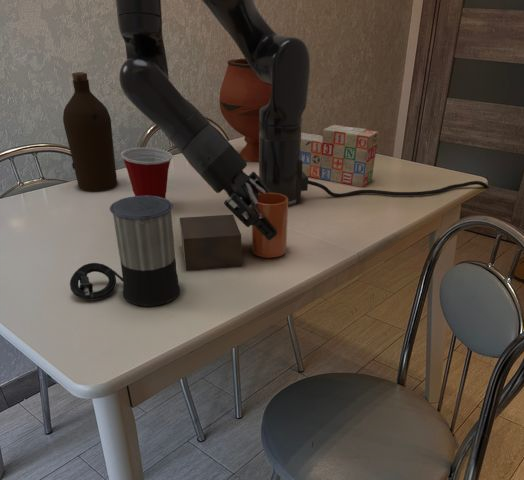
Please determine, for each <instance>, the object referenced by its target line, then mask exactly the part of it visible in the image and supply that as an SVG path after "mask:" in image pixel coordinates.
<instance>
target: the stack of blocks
mask: <svg viewBox="0 0 524 480" xmlns="http://www.w3.org/2000/svg"><path fill="white" fill-rule="evenodd" d="M378 138H379V131H377V130H368V129H367V128H362V127H351V126H344V125H337V124H332V125H330V126H328V127H326V128H323V130H322V135H320V134H313V133H308V132H307V133H306V132H301V151H300V159H301V160H302V162H303V164H302V172H304V174H305V175H306V176H307V177H310V178H315V179H320V180H326V181H331V182H336V183H340V184H345V185H350V186H356V187H359V188H363V187H365V186H367V185H368V184H369V183H371V182H372V181H373V174H374V167H375V160H376V154H377V147H378Z"/></svg>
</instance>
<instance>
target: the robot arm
mask: <svg viewBox="0 0 524 480" xmlns="http://www.w3.org/2000/svg"><path fill="white" fill-rule="evenodd" d="M201 2H202V3H203V4H204V5H205V6H206V8H207V9H208V10H209V11H210V12H211V14H212V15H213V16H214V18H215V19H216V20H217V22H219V24H220V25H221V27H222V28H223V29H224V30H225V32H227V33H228V34H229V36H230V38H231V39H232V40H233V42H234V43H235V44H236V46H237V47H238V49H239V51H240V52H241V54H242V55H243V57H244V58H245V59H246V60H247V62H248V64H249V65H250V67H251V68H252V70H253V72H254V73H255V74H256V76H257V77H258V78H259V79H260V80H261V81H263V82H264V83H266V84H269V85H272V87H271V98H270V101H269V103H268V104H266V105H264V106H262V107H261V108H260V111H259V161H258V174H257V173H256V172H255V171H252V172H251V173H250V174H247V173H245V172H244V170H245V169H246V167H247V166H248V163H247V162H248V161H246V160H244V159H243V158H242V157H241V155H240V152H238V151H237V150H236V148H235V147H234V146H233V145H232V144H231V143H230V142H229V140H228V139H227V138H226V137H225V136H224V134H222V133H221V132H220V131H219V130H218V129H217V128H216V127H214V125H212V123H210V122H209V121H208V119H207V118H206V117H205V116H204V114H202V113H201V111H200V110H199V109H198V108H197V107H196V106H195V105H194V104H193V103H192V102H190V101H189V100H188V99H186V98H185V97H184V96H183V95H182V94H181V92H180V91H179V90H178V89H177V88H176V87H175V85H174V84H173V83H172V82H171V80H170V76H169V68H168V67H169V66H168V60H167V55H166V49H165V42H164V37H163V14H162V0H115V7H116V16H117V25H118V31H119V34H120V35H121V38H122V39H123V41H124V47H125V54H126V60H125V61H124V62H123V63H122V65H121V67H120V70H119V74H118V76H119V77H118V78H119V80H118V81H119V84H120V88H121V90H122V92H123V94H124V95H125V96H126V98H127V99H128V100H129V101H130V102H131V104H133V106H134V107H136V108H137V109H138V110H139V111H140V112H141V113H142V114H143V115H144V116H145V117H147V119H149V120H150V121H151V122H152V123H153V124H154V125H155V126H156V127H158V128H159V129H160V131H162V133H163V134H164V135H165V136H166V138H167V139H168V140H169V141H170V142H171V143H172V145H174V146H175V147H176V149H177V150H178V151H179V153H181V155H183V156H184V158H185V159H186V161H187V162H188V164H189V165H190V166H191V167H192V168H193V169H194V170H195V171H196V173H198V175H199V176H200V177H201V178H202V179H203V180H204V181H205V182H206V183H207V184H208V185H209V186H210V188H211V189H212V190H213V191H214V192H215V193H216V194H220V193H221V192H223V190H224V192H225V193H226V195H227V196H228V197H227V199H225V200H224V201H223V204H224V206H225V207H226V208H227V209H228V210H229V211H230V212H231V213H232V214H233V216H234V217H236V218H237V219H238V220H239V221H240V222H241V223H242V224H243V225H244V226H245V227H246V228H250V226H251V227H252V226H254V225H255V226H256V227H257V229H258V230H259V231H260V232H261V233H262V234H263V235H264V236H265V237H266V238H267V239H268V240H271V239H272V238H273V237H275V236H276V234H277V230H276V229H275V228H274V227H273V226H272V225H271V223H270V222H269V221H268V220H267V219H266V218H265V217H264V218H263V215H262V213H261V211H260V210H259V209H258V201H257V198H258V197H259V195H258V194H265V193H279V194H283V195H285V196H287V198H288V207H289V206H293V205H295V204H301V201H302V192H308V190H309V189H308V187H309V185H310V186H315V187H317V188H319V189H322V190H323V191H325V193H326V194H328V195H329V196H331V197H334V198H344V197H350V196H355V195H360V194H376V195H383V196H384V195H386V196H399V197H401V196H402V197H404V196H406V197H407V196H408V197H409V196H411V197H412V196H413V197H414V196H427V195H435V194H439V193H443V192H446V191H448V190H453V189H458V188H463V187H467V186H473V185H479V186H482V187H483V188H484V189H486V190H487V189H488V190H489V189H490V187H489V185H488V184H487V183H486V182H483V181H481V180H472V181H467V182H463V183H462V182H461V183H456V184H450V185H447V186H444V187H441V188H438V189H432V190H424V191H423V190H422V191H421V190H420V191H391V190H390V191H389V190H380V189H358V190H351V191H348V192H343V193H337V192H333V191H332V190H330V189H329V188H328V187H327V186H326V185H324V184H322V183H319V182H316V181H312V180H309V176H306V175H305V174H304V172H302V164H303V162H302V160H301V159H300V151H301V133H302V130H303V129H302V128H303V127H302V126H303V115H304V112H305V110H306V107H307V104H308V95H309V85H310V84H309V82H310V75H311V74H310V73H311V58H310V52H309V49H308V46H307V45H306V43H305V42H304V40H302V39H300V38H298V37H295V36H289V35H280V34H278V33H277V32H275V30H274V29H272V27H271V26H270V25H269V24H268V23H267V21H266V19H264V17H263V16H262V14H261V13H260V12H259V10H258V7H257V6H256V4H255V1H254V0H201Z"/></svg>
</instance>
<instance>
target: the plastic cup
mask: <svg viewBox="0 0 524 480" xmlns="http://www.w3.org/2000/svg"><path fill="white" fill-rule="evenodd" d="M120 156H121V158H122V160H123V162H124V165H125V169H126V170H127V175H128V178H129V182H130V184H131V188H132V192H133V194H134V196H145V195H148V196H157V197H161V198H165V199H167V198H166V195H167V189H168V177H169V168H170V164H171V161H172V160H173V154H172V152H170V151H167V150H166V149H162V148H156V147H132V148H131V147H130V148H127V149H124V150H122V151H121V153H120Z"/></svg>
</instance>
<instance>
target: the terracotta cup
mask: <svg viewBox="0 0 524 480" xmlns="http://www.w3.org/2000/svg"><path fill="white" fill-rule="evenodd" d="M258 195H259V197H258V198H257V201H258V209H259V210H260V211H261V213H262V215H263V218H264V217H265V218H266V219H267V220H268V221H269V222H270V223H271V225H272V226H273V227H274V228H275V229H276V230H277V234H276V236H275V237H273V238H272V239H271V240H268V239H267V238H266V237H265V236H264V235H263V234H262V233H261V232H260V231H259V230H258V229H257V227H256V226H255V225H254V226H252V225H251V251H252V253H253V254H254V255H255V256H258V257H261V258H267V259H269V258H270V259H271V258H272V259H273V258H278V257H281V256H283V255H285V254H286V251H287V247H288V245H287V244H288V243H287V240H288V214H289V213H288V212H289V206H288V198H287V196H285V195H283V194H279V193H265V194H258Z"/></svg>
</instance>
